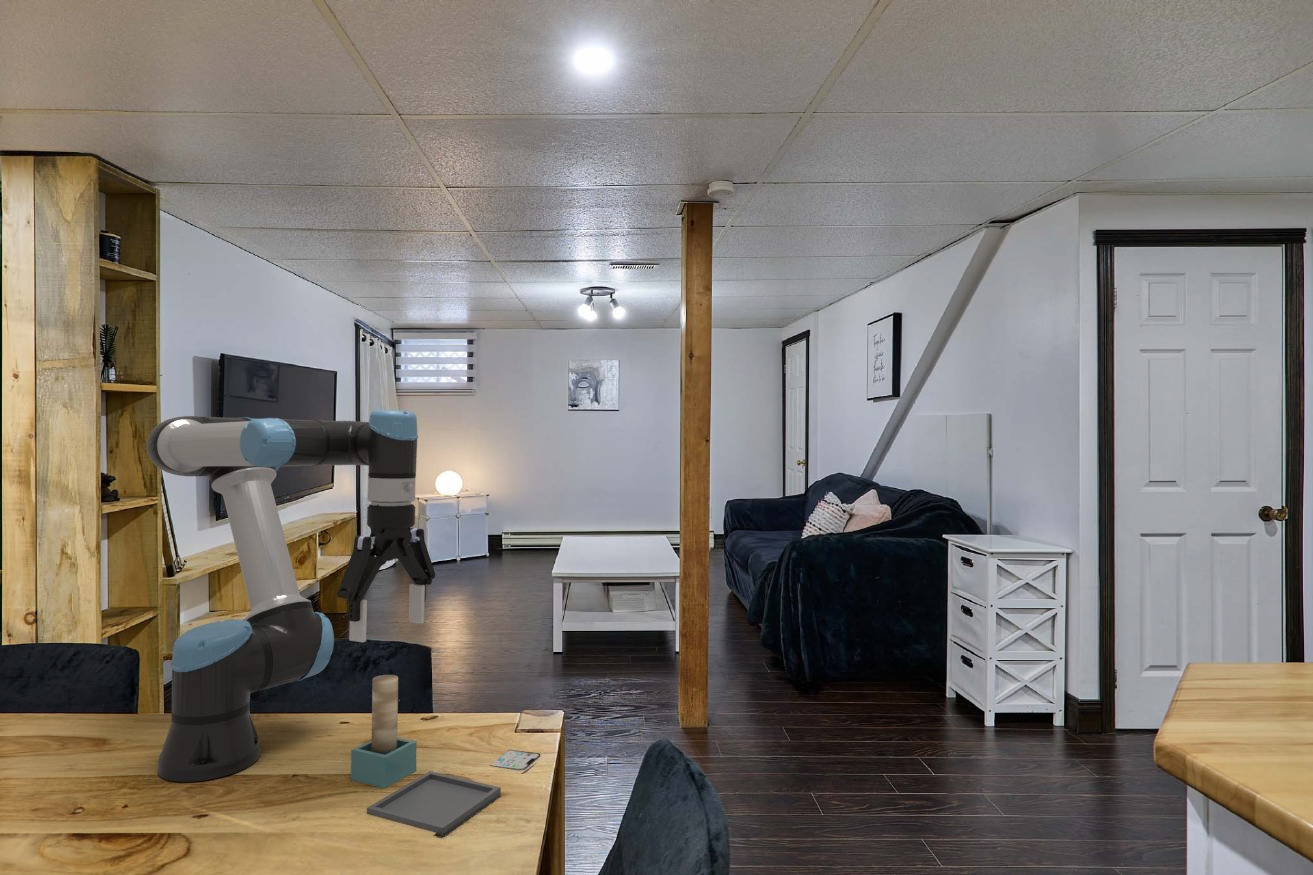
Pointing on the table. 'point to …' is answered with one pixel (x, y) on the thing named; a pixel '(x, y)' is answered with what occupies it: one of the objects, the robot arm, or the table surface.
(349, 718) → the table surface
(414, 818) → the tray
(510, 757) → the smartphone
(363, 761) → the teal open box
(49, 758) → the table surface
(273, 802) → the table surface
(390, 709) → the dowel
